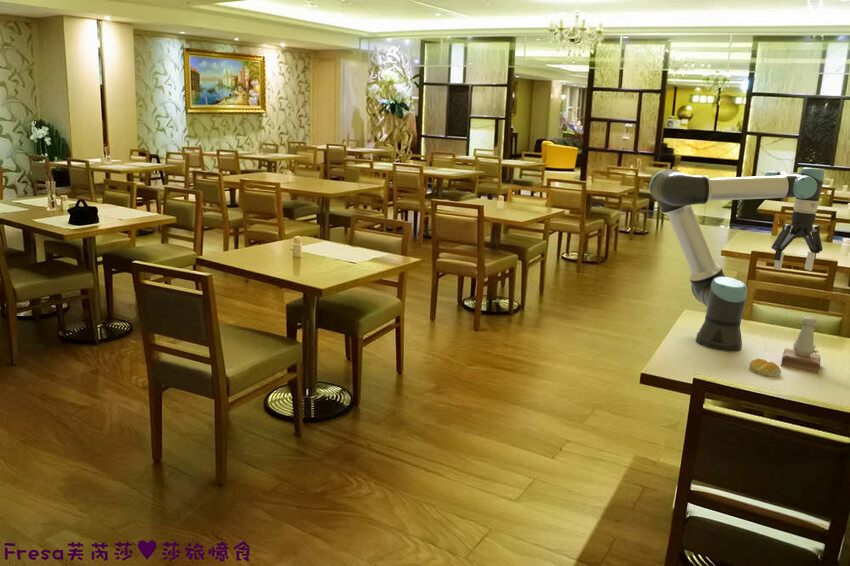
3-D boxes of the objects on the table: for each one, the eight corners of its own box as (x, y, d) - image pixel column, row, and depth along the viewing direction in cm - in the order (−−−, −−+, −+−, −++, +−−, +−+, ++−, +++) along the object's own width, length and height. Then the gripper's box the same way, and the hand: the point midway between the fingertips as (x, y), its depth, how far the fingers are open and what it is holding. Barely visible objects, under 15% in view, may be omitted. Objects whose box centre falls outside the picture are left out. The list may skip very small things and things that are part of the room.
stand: (818, 373, 227) (820, 363, 226) (780, 365, 232) (783, 355, 231) (818, 364, 236) (820, 354, 236) (782, 356, 241) (784, 347, 241)
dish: (803, 352, 250) (804, 347, 249) (788, 345, 256) (789, 340, 256) (819, 351, 252) (820, 346, 251) (803, 345, 258) (804, 340, 258)
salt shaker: (810, 359, 230) (819, 321, 226) (791, 355, 232) (799, 317, 229) (812, 355, 234) (820, 318, 231) (793, 350, 237) (801, 314, 234)
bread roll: (758, 366, 230) (761, 354, 229) (783, 376, 223) (786, 364, 222) (742, 368, 226) (745, 357, 225) (767, 379, 219) (770, 367, 218)
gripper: (783, 212, 243) (771, 271, 249) (841, 214, 250) (828, 272, 255) (768, 208, 250) (756, 266, 256) (824, 211, 257) (812, 267, 262)
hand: (792, 269), depth 255 cm, fingers open, 13 cm apart
